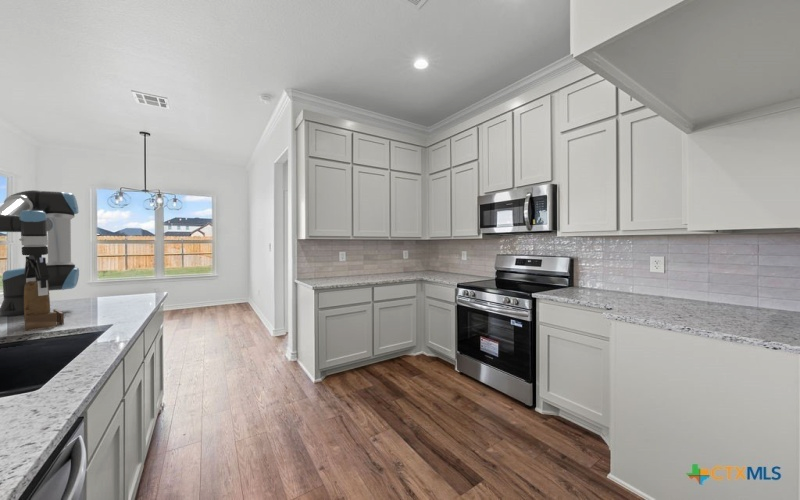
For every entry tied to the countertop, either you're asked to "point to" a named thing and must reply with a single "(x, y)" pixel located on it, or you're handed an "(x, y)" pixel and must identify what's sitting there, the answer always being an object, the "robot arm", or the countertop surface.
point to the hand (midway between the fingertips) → (37, 293)
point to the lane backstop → (40, 321)
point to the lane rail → (59, 316)
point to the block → (35, 300)
